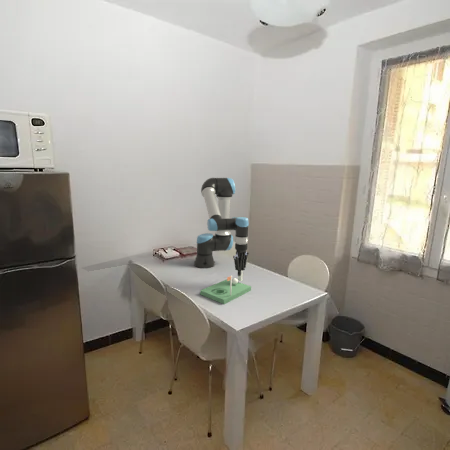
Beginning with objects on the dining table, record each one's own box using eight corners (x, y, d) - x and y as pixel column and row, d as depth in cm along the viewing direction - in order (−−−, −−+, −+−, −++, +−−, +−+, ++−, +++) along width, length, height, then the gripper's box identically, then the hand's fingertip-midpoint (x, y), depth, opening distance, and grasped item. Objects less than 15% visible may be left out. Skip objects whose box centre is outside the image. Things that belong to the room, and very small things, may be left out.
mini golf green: (227, 282, 188) (228, 261, 185) (251, 290, 177) (252, 267, 174) (200, 294, 169) (200, 271, 167) (224, 304, 158) (224, 279, 155)
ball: (230, 284, 178) (230, 278, 178) (234, 282, 181) (234, 276, 181) (235, 286, 176) (235, 279, 175) (239, 284, 179) (239, 278, 178)
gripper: (239, 246, 171) (238, 284, 175) (252, 242, 180) (251, 278, 185) (229, 243, 175) (228, 281, 180) (242, 240, 185) (241, 276, 190)
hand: (240, 280), depth 182 cm, fingers closed
